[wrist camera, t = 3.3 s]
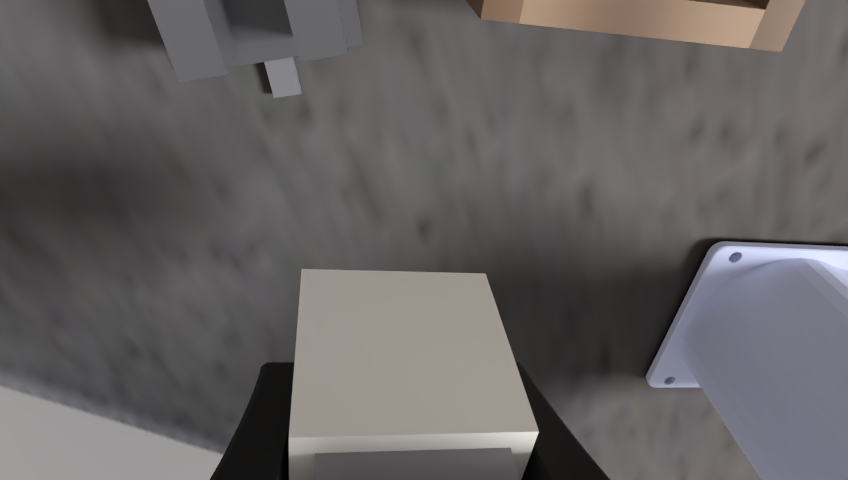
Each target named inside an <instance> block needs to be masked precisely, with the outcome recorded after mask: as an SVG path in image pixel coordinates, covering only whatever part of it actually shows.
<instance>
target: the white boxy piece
mask: <svg viewBox="0 0 848 480" xmlns="http://www.w3.org/2000/svg"><path fill="white" fill-rule="evenodd" d="M538 433H539V430H538V427H537V424H536V421H535V418H534V415H533V412H532V409H531V406H530V403H529V401H528V398H527V395H526V392H525V389H524V386H523V383H522V380H521V377H520V374H519V371H518V368H517V365H516V362H515V359H514V356H513V353H512V350H511V347H510V344H509V341H508V339H507V336H506V333H505V330H504V327H503V324H502V321H501V318H500V315H499V312H498V309H497V306H496V303H495V300H494V297H493V294H492V291H491V288H490V285H489V282H488V279H487V276H486V274H485V273H446V272H404V271H362V270H320V269H302V272H301V285H300V297H299V310H298V323H297V336H296V349H295V362H294V375H293V388H292V401H291V414H290V427H289V480H521V479H522V477H523V474H524V471H525V468H526V466H527V463H528V460H529V457H530V455H531V452H532V449H533V447H534V444H535V441H536V438H537V436H538Z"/></svg>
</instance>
